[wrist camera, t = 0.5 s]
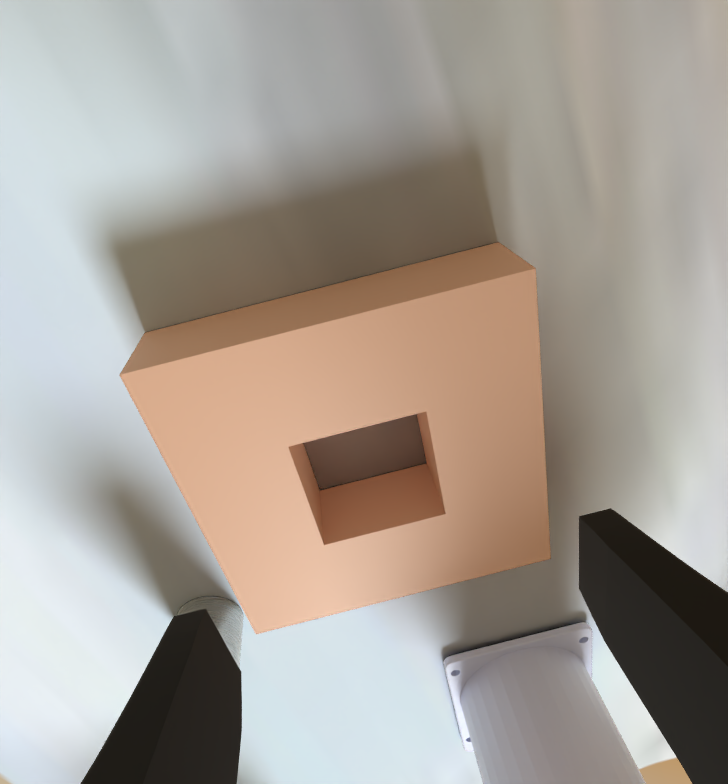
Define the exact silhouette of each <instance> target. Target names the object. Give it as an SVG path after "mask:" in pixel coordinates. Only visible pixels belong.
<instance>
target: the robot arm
mask: <svg viewBox="0 0 728 784" xmlns="http://www.w3.org/2000/svg"><path fill="white" fill-rule="evenodd" d="M579 589H580V591H581V593H582V595H583V598H584V600H585V602H586V604H587V606H588V608H589V610H590V612H591V614H592V617H593V619H594V621H595V623H596V625H597V627H598V629H599V631H600V633H601V635H602V637H603V639H604V641H605V642H606V644H607V646H608V647H609V649H610V651H611V652H612V654H613V656H614V657H615V659H616V660H617V662H618V664H619V665H620V667H621V669H622V670H623V672H624V673H625V675H626V677H627V678H628V680H629V681H630V683H631V685H632V686H633V688H634V689H635V691H636V693H637V694H638V696H639V697H640V699H641V701H642V702H643V704H644V705H645V707H646V709H647V710H648V712H649V713H650V715H651V717H652V718H653V720H654V721H655V723H656V725H657V726H658V728H659V729H660V731H661V733H662V734H663V736H664V737H665V739H666V741H667V742H668V744H669V745H670V747H671V749H672V750H673V752H674V753H675V755H676V757H677V758H678V760H679V761H680V763H681V765H682V766H683V768H684V770H685V771H686V773H687V775H688V776H689V778H690V780H691V782H692V784H728V592H726V591H725V590H723V589H722V588H720V587H719V586H717V585H716V584H714V583H713V582H711V581H710V580H709V579H707V578H706V577H704V576H703V575H701V574H700V573H698V572H697V571H696V570H694V569H693V568H691V567H690V566H689V565H687V564H686V563H684V562H683V561H682V560H680V559H679V558H677V557H676V556H675V555H673V554H672V553H671V552H669V551H668V550H667V549H665V548H664V547H662V546H661V545H660V544H658V543H657V542H656V541H654V540H653V539H652V538H650V537H649V536H648V535H646V534H645V533H644V532H642V531H641V530H640V529H638V528H637V527H636V526H634V525H633V524H632V523H630V522H629V521H628V520H626V519H625V518H624V517H622V516H621V515H620V514H618V513H617V512H615V511H614V510H612V509H607V510H603V511H599V512H595V513H591V514H587V515H583V516H579ZM443 664H444V668H445V672H446V676H447V681H448V685H449V689H450V693H451V697H452V701H453V706H454V710H455V714H456V718H457V722H458V726H459V731H460V735H461V739H462V743H463V747H464V750H465V751H468V752H472V751H474V753H475V756H476V760H477V763H478V767H479V770H480V774H481V777H482V781H483V784H646V783H645V781H644V779H643V777H642V775H641V773H640V771H639V769H638V767H637V765H636V763H635V761H634V760H633V758H632V756H631V754H630V752H629V750H628V748H627V746H626V744H625V742H624V740H623V738H622V736H621V735H620V733H619V731H618V729H617V727H616V725H615V723H614V721H613V719H612V717H611V715H610V713H609V711H608V709H607V708H606V706H605V704H604V702H603V700H602V698H601V696H600V694H599V692H598V690H597V688H596V686H595V684H594V682H593V681H592V629H591V627H590V625H589V624H588V623H585V622H581V623H577V624H573V625H569V626H565V627H561V628H557V629H553V630H549V631H545V632H541V633H537V634H533V635H530V636H526V637H522V638H518V639H514V640H510V641H506V642H502V643H498V644H494V645H490V646H487V647H483V648H479V649H475V650H471V651H467V652H463V653H459V654H455V655H451V656H449V657H447V658H446V659H445V660H444V663H443ZM241 731H242V693H241V671H240V669H239V667H238V665H237V663H236V662H235V660H234V658H233V656H232V655H231V653H230V651H229V649H228V647H227V646H226V644H225V642H224V640H223V638H222V637H221V635H220V633H219V631H218V629H217V628H216V626H215V624H214V622H213V620H212V619H211V617H210V615H209V613H208V611H207V610H206V609H202V610H198V611H193V612H189V613H185V614H181V615H177V616H174V618H173V619H172V621H171V622H170V624H169V626H168V628H167V630H166V631H165V633H164V635H163V637H162V639H161V641H160V643H159V645H158V647H157V648H156V650H155V652H154V654H153V656H152V658H151V660H150V662H149V664H148V666H147V667H146V669H145V671H144V673H143V675H142V677H141V679H140V680H139V682H138V684H137V686H136V688H135V690H134V692H133V694H132V695H131V697H130V699H129V701H128V703H127V704H126V706H125V708H124V710H123V712H122V713H121V715H120V717H119V719H118V721H117V722H116V724H115V726H114V728H113V729H112V731H111V733H110V735H109V737H108V738H107V740H106V742H105V744H104V745H103V747H102V749H101V751H100V752H99V754H98V756H97V758H96V759H95V761H94V763H93V764H92V766H91V768H90V769H89V771H88V773H87V774H86V776H85V777H84V779H83V781H82V782H81V784H236V783H237V773H238V763H239V753H240V742H241Z"/></svg>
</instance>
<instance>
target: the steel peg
mask: <svg viewBox="0 0 728 784" xmlns="http://www.w3.org/2000/svg"><path fill="white" fill-rule="evenodd" d="M202 609H206V610H207V611H208V613H209V615H210V617H211V619H212V620H213V622H214V624H215V626H216V628H217V629H218V631H219V633H220V635H221V637H222V638H223V640H224V642H225V644H226V646H227V647H228V649H229V651H230V653H231V655H232V656H233V658H234V660H235V662H236V663H237V665H238V667H239V666H240V654H241V642H242V630H243V612H242V610H241V609H240V607H239V606H238V605H237V604H235V603H234V602H232V601H230V600H228V599H225V598H222V597H215V596H207V597H200V598H196V599H193V600H191V601H189V602H187V603H186V604H184V605H183V606H182V607H181V608H180V610H179V611H178V613H177V615H181V614H185V613H189V612H193V611H198V610H202Z"/></svg>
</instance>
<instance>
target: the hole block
mask: <svg viewBox="0 0 728 784" xmlns="http://www.w3.org/2000/svg"><path fill="white" fill-rule="evenodd" d="M120 377H121V379H122V381H123V382H124V384H125V386H126V388H127V390H128V392H129V394H130V396H131V398H132V400H133V401H134V403H135V405H136V407H137V409H138V411H139V413H140V415H141V417H142V419H143V420H144V422H145V424H146V426H147V428H148V430H149V432H150V434H151V436H152V438H153V439H154V441H155V443H156V445H157V447H158V449H159V451H160V453H161V455H162V457H163V458H164V460H165V462H166V464H167V466H168V468H169V470H170V472H171V474H172V476H173V477H174V479H175V481H176V483H177V485H178V487H179V489H180V491H181V493H182V495H183V496H184V498H185V500H186V502H187V504H188V506H189V508H190V510H191V512H192V514H193V515H194V517H195V519H196V521H197V523H198V525H199V527H200V529H201V531H202V533H203V534H204V536H205V538H206V540H207V542H208V544H209V546H210V548H211V550H212V552H213V553H214V555H215V557H216V559H217V561H218V563H219V565H220V567H221V569H222V571H223V572H224V574H225V576H226V578H227V580H228V582H229V584H230V586H231V588H232V590H233V591H234V593H235V595H236V597H237V599H238V601H239V603H240V605H241V607H242V609H243V610H244V612H245V614H246V616H247V618H248V620H249V622H250V624H251V626H252V628H253V629H254V631H255V633H256V634H259V633H263V632H267V631H271V630H275V629H278V628H282V627H286V626H290V625H294V624H298V623H302V622H306V621H310V620H314V619H318V618H321V617H325V616H329V615H333V614H337V613H341V612H345V611H349V610H353V609H357V608H361V607H364V606H368V605H372V604H376V603H380V602H384V601H388V600H392V599H396V598H400V597H404V596H407V595H411V594H415V593H419V592H423V591H427V590H431V589H435V588H439V587H443V586H447V585H450V584H454V583H458V582H462V581H466V580H470V579H474V578H478V577H482V576H486V575H490V574H493V573H497V572H501V571H505V570H509V569H513V568H517V567H521V566H525V565H529V564H533V563H536V562H540V561H544V560H548V559H551V553H550V534H549V514H548V495H547V476H546V457H545V437H544V418H543V399H542V380H541V360H540V341H539V322H538V303H537V283H536V268H534V267H533V266H532V265H530V264H529V263H527V262H526V261H525V260H523V259H522V258H520V257H519V256H517V255H516V254H515V253H513V252H512V251H510V250H509V249H508V248H506V247H505V246H503V245H502V244H501V243H499V242H497V243H493V244H489V245H486V246H482V247H478V248H474V249H470V250H466V251H462V252H458V253H454V254H450V255H446V256H443V257H439V258H435V259H431V260H427V261H423V262H419V263H415V264H411V265H407V266H404V267H400V268H396V269H392V270H388V271H384V272H380V273H376V274H372V275H368V276H364V277H361V278H357V279H353V280H349V281H345V282H341V283H337V284H333V285H329V286H325V287H322V288H318V289H314V290H310V291H306V292H302V293H298V294H294V295H290V296H286V297H282V298H279V299H275V300H271V301H267V302H263V303H259V304H255V305H251V306H247V307H243V308H240V309H236V310H232V311H228V312H224V313H220V314H216V315H212V316H208V317H204V318H200V319H197V320H193V321H189V322H185V323H181V324H177V325H173V326H169V327H165V328H161V329H158V330H154V331H150V332H146V333H144V335H143V336H142V338H141V340H140V341H139V343H138V345H137V347H136V348H135V350H134V352H133V353H132V355H131V357H130V358H129V360H128V362H127V363H126V365H125V367H124V368H123V370H122V372H121V373H120ZM414 414H417V417H418V422H419V427H420V432H421V437H422V442H423V447H424V452H425V457H426V462H427V463H426V464H422V465H418V466H414V467H410V468H406V469H402V470H399V471H395V472H391V473H387V474H383V475H379V476H375V477H371V478H367V479H363V480H359V481H356V482H352V483H348V484H344V485H340V486H336V487H332V488H328V489H324V490H319V487H318V484H317V481H316V478H315V476H314V473H313V470H312V467H311V464H310V461H309V458H308V455H307V452H306V450H305V447H304V444H303V443H305V442H309V441H313V440H317V439H321V438H325V437H328V436H332V435H336V434H340V433H344V432H348V431H352V430H356V429H360V428H364V427H368V426H371V425H375V424H379V423H383V422H387V421H391V420H395V419H399V418H403V417H407V416H410V415H414Z"/></svg>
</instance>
